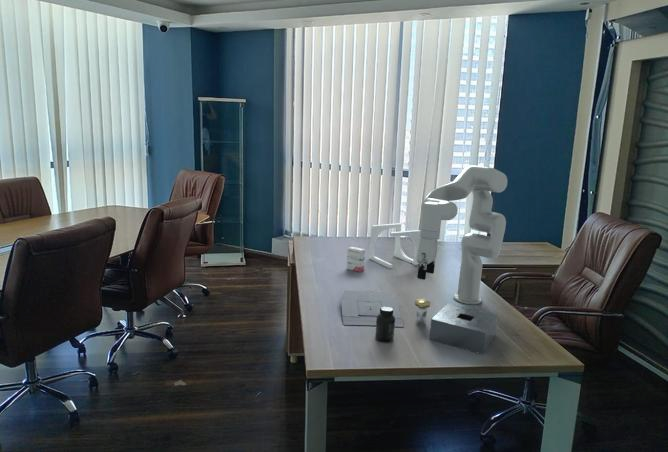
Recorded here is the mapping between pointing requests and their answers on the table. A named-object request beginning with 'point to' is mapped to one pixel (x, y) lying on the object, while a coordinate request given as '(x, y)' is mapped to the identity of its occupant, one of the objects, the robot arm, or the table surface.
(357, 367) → the table surface
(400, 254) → the white frame stand
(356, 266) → the ink box
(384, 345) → the table surface
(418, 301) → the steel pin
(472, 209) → the robot arm
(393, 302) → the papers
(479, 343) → the grey square platform
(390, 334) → the supplement bottle
